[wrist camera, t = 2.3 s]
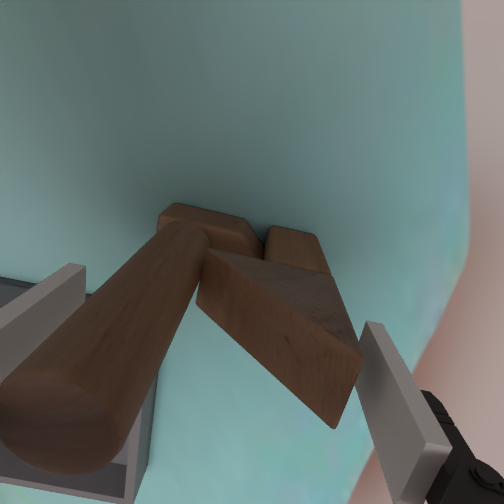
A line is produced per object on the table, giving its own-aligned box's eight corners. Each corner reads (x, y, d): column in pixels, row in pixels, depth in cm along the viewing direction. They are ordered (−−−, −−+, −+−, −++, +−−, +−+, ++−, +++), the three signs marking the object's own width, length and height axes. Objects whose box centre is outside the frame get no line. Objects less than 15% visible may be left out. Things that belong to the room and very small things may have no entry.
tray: (-81, 261, 28) (-136, 283, 24) (165, 308, 28) (149, 337, 24) (-53, 427, 34) (-93, 465, 30) (147, 464, 34) (132, 506, 31)
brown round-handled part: (304, 278, 27) (361, 546, 10) (166, 246, 26) (-21, 468, 9) (318, 233, 25) (410, 454, 8) (173, 200, 25) (-30, 360, 8)
